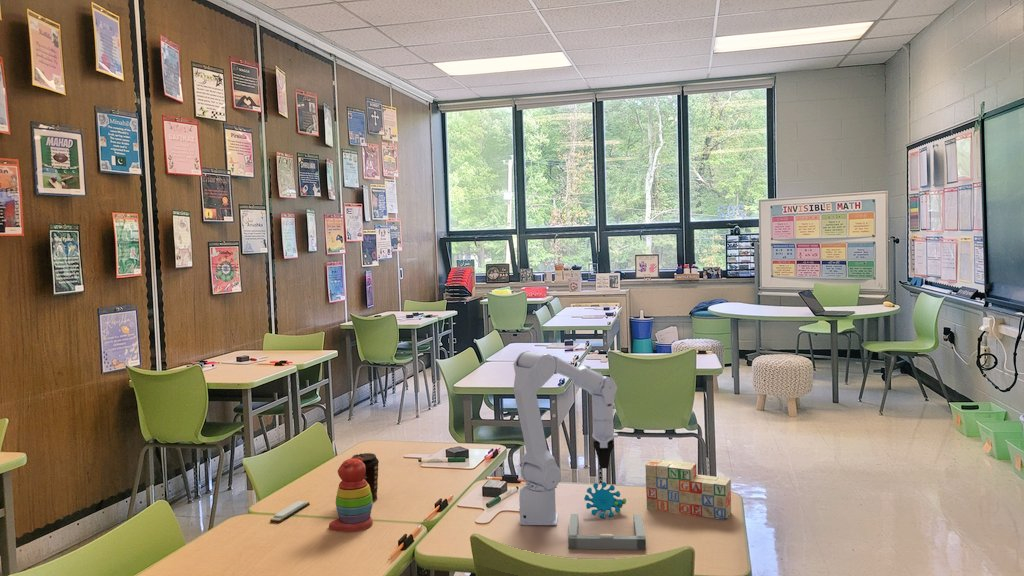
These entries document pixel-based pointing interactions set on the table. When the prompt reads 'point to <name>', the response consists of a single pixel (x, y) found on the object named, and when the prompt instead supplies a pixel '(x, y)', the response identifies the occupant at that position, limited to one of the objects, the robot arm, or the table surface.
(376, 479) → the coffee cup
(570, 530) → the gear frame
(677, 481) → the stack of blocks
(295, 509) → the harmonica
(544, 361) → the robot arm
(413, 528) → the table surface
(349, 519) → the stacking bear
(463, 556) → the table surface
